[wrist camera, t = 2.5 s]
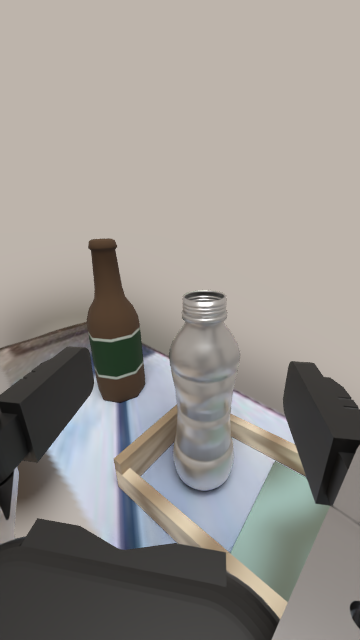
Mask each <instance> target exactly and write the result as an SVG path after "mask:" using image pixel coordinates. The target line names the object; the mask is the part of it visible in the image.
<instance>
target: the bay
mask: <svg viewBox="0 0 360 640" xmlns="http://www.w3.org/2000/svg"><path fill="white" fill-rule="evenodd" d="M177 415H178V411H177V405H176V406H174V407H173V408H172V409H171V410H170V411H169V412H167V413H166V414H165V415H164V416H163V417H162V418H161V419H159V420H158V421H157V422H156V423H155V424H154V425H152V426H151V427H150V428H149V429H148V430H147V431H145V432H144V433H143V434H142V435H141V436H140V437H138V438H137V439H136V440H135V441H134V442H133V443H132V444H130V445H129V446H128V447H127V448H126V449H125V450H123V451H122V452H121V453H120V454H119V455H118V456H116V457H115V458H114V463H115V469H116V474H117V480H118V486H119V487H120V488H121V489H122V490H123V491H124V492H125V493H126V494H127V495H128V496H129V497H130V498H131V499H132V500H133V501H134V502H135V503H136V504H137V505H139V506H140V507H141V508H142V509H143V510H144V511H145V512H146V513H147V514H148V515H149V516H150V517H151V518H152V519H153V520H154V521H155V522H156V523H157V524H158V525H159V526H160V527H161V528H163V529H164V530H165V531H166V532H167V533H168V534H169V535H170V536H171V537H172V538H173V539H174V540H175V541H176V542H177V543H178V544H183V545H189V546H194V547H200V548H205V549H211V550H217V551H222V552H226V571H227V572H228V573H230V574H232V575H234V576H236V577H237V578H239V579H240V580H241V581H243V582H244V583H245V584H247V585H248V586H250V587H251V588H252V589H253V590H254V591H255V592H256V593H257V594H258V595H259V596H260V597H262V598H263V600H264V601H265V602H266V603H267V604H268V605H269V606H270V607H271V609H272V610H273V611H274V612H275V613H276V615H277V616H278V617H279V619H281V617H282V615H283V612H284V610H285V608H286V605H287V603H288V601H289V599H290V596H291V594H292V592H293V589H294V587H295V585H296V583H297V580H298V578H299V576H300V573H301V571H302V569H303V567H304V564H305V562H306V560H307V557H308V555H309V553H310V551H311V548H312V546H313V544H314V541H315V539H316V537H317V535H318V532H319V530H320V528H321V525H322V523H323V521H324V519H325V516H326V514H327V512H328V510H329V508H330V506H328V505H321V504H315V501H314V498H313V495H312V492H311V489H310V486H309V483H308V481H307V478H306V477H304V476H306V475H305V472H304V469H303V466H302V463H301V460H300V457H299V454H298V451H297V448H296V445H295V444H293V443H291V442H288V441H286V440H284V439H282V438H280V437H278V436H276V435H274V434H272V433H270V432H268V431H265V430H263V429H261V428H259V427H257V426H255V425H253V424H251V423H249V422H247V421H245V420H242V419H240V418H238V417H236V416H234V415H232V414H230V424H231V436H232V437H234V438H235V439H237V440H239V441H241V442H243V443H245V444H247V445H248V446H250V447H252V448H254V449H256V450H258V451H260V452H261V453H263V454H265V455H267V456H269V457H271V458H273V459H274V460H276V461H278V462H280V463H282V464H284V465H286V466H288V467H289V468H291V469H293V470H295V471H297V472H299V473H301V474H302V475H304V476H302V475H300V474H298V473H296V472H295V471H293V470H291V469H289V468H287V467H285V466H283V465H282V464H280V463H278V462H276V461H275V462H274V464H273V467H272V469H271V471H270V473H269V475H268V477H267V479H266V481H265V483H264V485H263V487H262V489H261V491H260V493H259V495H258V497H257V499H256V501H255V503H254V506H253V508H252V510H251V512H250V514H249V516H248V518H247V520H246V522H245V524H244V526H243V528H242V530H241V532H240V534H239V536H238V538H237V540H236V543H235V545H234V547H233V549H232V551H231V553H229V552H228V551H227V550H226V549H224V548H223V547H222V546H221V545H220V544H219V543H217V542H216V541H215V540H214V539H213V538H212V537H210V536H209V535H208V534H207V533H206V532H205V531H203V530H202V529H201V528H200V527H199V526H197V525H196V524H195V523H194V522H193V521H192V520H190V519H189V518H188V517H187V516H186V515H185V514H183V513H182V512H181V511H180V510H179V509H177V508H176V507H175V506H174V505H173V504H172V503H170V502H169V501H168V500H167V499H166V498H165V497H163V496H162V495H161V494H160V493H159V492H158V491H156V490H155V489H154V488H153V487H152V486H150V485H149V484H148V483H147V482H146V481H145V480H143V479H142V478H141V477H140V476H141V475H142V474H143V473H144V472H145V471H146V470H147V469H148V468H149V467H150V466H151V465H152V464H153V463H154V462H155V461H156V460H157V459H158V458H159V457H160V456H161V455H162V454H163V453H164V452H165V451H166V450H167V449H168V448H169V447H170V446H171V445H172V444H173V443H174V441H175V437H176V432H177Z"/></svg>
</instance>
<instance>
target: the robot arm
mask: <svg viewBox="0 0 360 640" xmlns="http://www.w3.org/2000/svg"><path fill="white" fill-rule="evenodd" d="M93 385H94V378H93V372H92V365H91V359H90V353H89V350H88V349H87V348H85V347H66V348H65V349H63V350H62V351H61V352H60V353H58V354H57V355H56V356H55V357H53V358H52V359H50V360H47V361H45V362H43V363H41V364H40V365H39V366H37V367H36V368H35V369H33V370H32V372H29V373H28V374H27V375H26V376H24V377H23V379H20V380H19V381H18V382H16V383H15V384H14V385H12V386H11V387H10V388H9V389H7V390H6V391H5V392H4V393H2V394H1V395H0V640H360V410H359V409H358V406H357V405H356V403H355V402H354V401H353V400H351V397H350V395H349V394H348V393H347V391H346V390H345V389H344V387H342V386H341V385H340V384H338V383H337V382H335V381H334V380H333V379H331V378H327V377H323V375H322V374H321V372H320V371H319V370H318V368H317V367H316V365H315V364H314V363H310V362H294V361H292V362H290V364H289V367H288V373H287V378H286V384H285V390H284V397H283V407H284V413H285V416H286V419H287V422H288V425H289V428H290V431H291V434H292V437H293V439H294V442H295V445H296V448H297V451H298V454H299V457H300V460H301V463H302V466H303V469H304V472H305V475H306V478H307V481H308V483H309V486H310V489H311V492H312V495H313V498H314V501H315V504H321V505H328V506H330V508H329V510H328V512H327V514H326V516H325V519H324V521H323V523H322V525H321V528H320V530H319V532H318V535H317V537H316V539H315V541H314V544H313V546H312V548H311V551H310V553H309V555H308V557H307V560H306V562H305V564H304V567H303V569H302V571H301V573H300V576H299V578H298V580H297V583H296V585H295V587H294V589H293V592H292V594H291V596H290V599H289V601H288V603H287V605H286V608H285V610H284V612H283V615H282V617H281V619H279V617H278V616H277V615H276V613H275V612H274V611H273V610H272V609H271V607H270V606H269V605H268V604H267V603H266V602H265V601H264V600H263V598H262V597H260V596H259V595H258V594H257V593H256V592H255V591H254V590H253V589H252V588H251V587H250V586H248V585H247V584H245V583H244V582H243V581H241V580H240V579H239V578H237V577H236V576H234V575H232V574H230V573H228V572H227V571H226V552H222V551H217V550H211V549H205V548H200V547H194V546H189V545H183V544H177V543H173V544H166V545H158V546H151V547H144V548H137V549H129V550H121V549H118V548H116V547H114V546H113V545H111V544H109V543H108V542H106V541H104V540H103V539H101V538H99V537H97V536H96V535H94V534H92V533H91V532H89V531H87V530H86V529H84V528H82V527H81V526H77V525H71V524H66V523H60V522H55V521H49V520H44V519H37V520H36V522H35V524H34V525H33V526H32V528H31V530H30V531H29V533H28V534H27V536H26V537H21V538H17V539H15V516H16V503H17V490H18V477H19V472H18V469H17V466H18V465H19V463H20V462H21V461H29V462H36V463H37V462H38V461H39V460H40V459H41V457H42V456H43V455H44V454H45V452H46V451H47V450H48V449H49V447H50V446H51V445H52V443H53V442H54V441H55V439H56V438H57V437H58V436H59V434H60V433H61V432H62V430H63V429H64V428H65V427H66V425H67V424H68V423H69V421H70V420H71V419H72V417H73V416H74V415H75V414H76V412H77V411H78V410H79V408H80V407H81V406H82V405H83V403H84V402H85V401H86V399H87V398H88V397H89V396H90V394H91V392H92V390H93Z"/></svg>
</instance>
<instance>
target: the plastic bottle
mask: <svg viewBox="0 0 360 640" xmlns="http://www.w3.org/2000/svg"><path fill="white" fill-rule="evenodd" d="M182 318H183V320H185V324H184V325H183V326H182V328H181V329H180V330H179V332H178V333H177V335H176V336H175V338H174V340H173V341H172V344H171V348H170V352H169V359H170V366H171V371H172V376H173V381H174V386H175V391H176V401H177V411H178V415H177V432H176V437H175V442H174V450H173V459H174V463H175V467H176V470H177V473H178V475H179V477H180V478H181V480H182V481H183V482H184V483H185V484H187V485H188V486H190V487H192V488H194V489H197V490H202V491H207V490H212V489H215V488H217V487H219V486H220V485H222V484H223V483H224V482H225V481H226V480H227V478H228V477H229V474H230V472H231V469H232V465H233V461H234V451H233V442H232V437H231V424H230V412H231V403H232V395H233V388H234V384H235V380H236V375H237V371H238V367H239V361H240V351H239V347H238V343H237V341H236V340H235V338H234V336H233V335H232V333H231V332H230V330H229V329H228V328H227V326H226V325H225V324H224V320H225V319H226V318H227V310H226V295H225V294H223V293H221V292H217V291H209V290H202V291H193V292H189V293H186V294H184V295H183V311H182Z"/></svg>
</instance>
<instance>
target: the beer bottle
mask: <svg viewBox="0 0 360 640" xmlns="http://www.w3.org/2000/svg"><path fill="white" fill-rule="evenodd" d="M116 247H117V245H116V242H115V240H113V239H93V240H90V241H89V246H88V248H89V249H90V250H91V254H92V264H93V275H94V285H95V297H94V300H93V303H92V304H91V306H90V308H89V311H88V316H87V327H88V334H89V340H90V345H91V351H92V356H93V362H94V367H95V373H96V378H97V383H98V387H99V390H100V392H101V395H102V397H103V399H104V400H107V401H113V402H119V403H121V402H124V401H127V400H129V399H132V398H135V397H137V396H138V395H139V393H140V392H141V390H142V389H143V387H144V385H145V374H144V364H143V354H142V343H141V334H140V325H139V319H138V315H137V313H136V311H135V309H134V307H133V305H132V304H131V303H130V302H129V301H128V300H127V298H126V297H125V295H124V292H123V288H122V284H121V280H120V274H119V268H118V263H117V257H116V252H115V249H116Z"/></svg>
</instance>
